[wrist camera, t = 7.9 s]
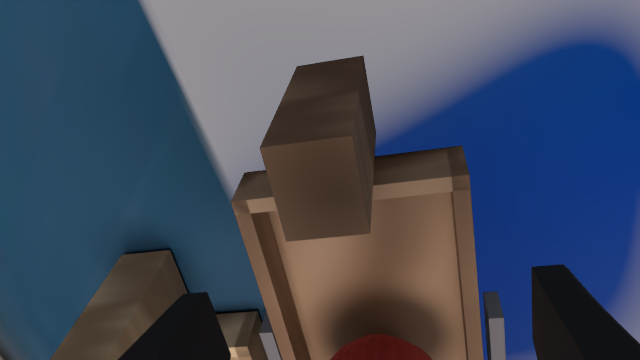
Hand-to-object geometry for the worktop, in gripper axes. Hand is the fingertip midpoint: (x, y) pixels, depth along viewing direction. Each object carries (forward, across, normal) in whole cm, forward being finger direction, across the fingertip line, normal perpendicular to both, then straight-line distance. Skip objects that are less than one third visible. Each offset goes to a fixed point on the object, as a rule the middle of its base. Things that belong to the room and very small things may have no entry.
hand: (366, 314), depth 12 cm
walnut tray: (+10, +1, +6) cm, 12 cm away
